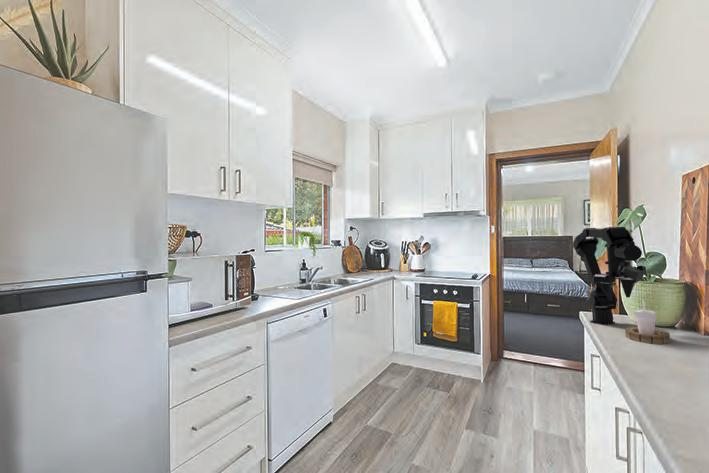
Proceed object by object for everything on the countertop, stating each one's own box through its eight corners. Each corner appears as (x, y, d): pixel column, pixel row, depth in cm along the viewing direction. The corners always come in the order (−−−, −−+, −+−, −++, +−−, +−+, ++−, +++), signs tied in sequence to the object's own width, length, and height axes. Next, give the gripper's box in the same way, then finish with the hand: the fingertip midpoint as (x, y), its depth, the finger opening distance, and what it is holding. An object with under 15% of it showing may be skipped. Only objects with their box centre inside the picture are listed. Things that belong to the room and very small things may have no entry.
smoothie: (631, 337, 122) (629, 299, 122) (641, 334, 125) (638, 297, 125) (652, 342, 116) (650, 302, 116) (662, 338, 119) (660, 300, 119)
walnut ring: (617, 336, 125) (617, 329, 125) (640, 331, 128) (640, 325, 128) (654, 345, 113) (653, 338, 113) (678, 340, 116) (678, 333, 116)
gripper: (620, 261, 119) (623, 305, 119) (657, 257, 124) (660, 299, 124) (590, 260, 130) (593, 300, 130) (625, 256, 135) (628, 295, 135)
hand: (619, 298), depth 129 cm, fingers open, 9 cm apart
